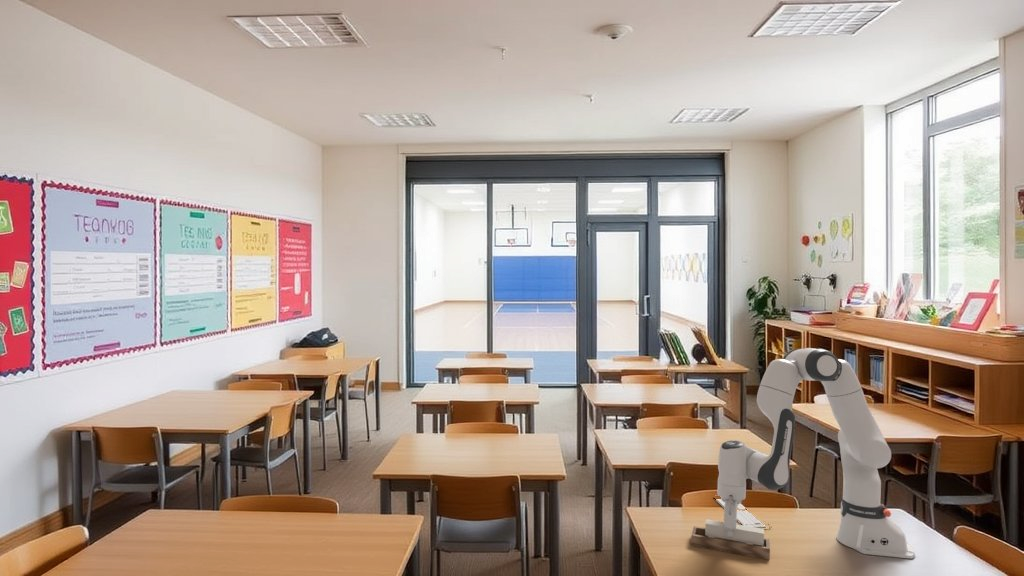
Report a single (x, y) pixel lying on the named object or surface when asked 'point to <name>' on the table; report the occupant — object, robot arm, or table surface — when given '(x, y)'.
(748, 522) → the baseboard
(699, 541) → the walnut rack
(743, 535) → the clay strip
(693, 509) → the table surface
